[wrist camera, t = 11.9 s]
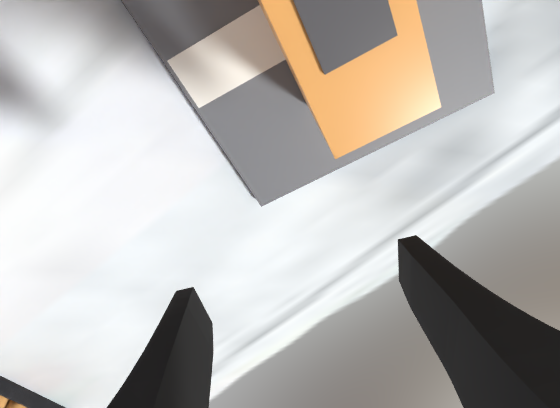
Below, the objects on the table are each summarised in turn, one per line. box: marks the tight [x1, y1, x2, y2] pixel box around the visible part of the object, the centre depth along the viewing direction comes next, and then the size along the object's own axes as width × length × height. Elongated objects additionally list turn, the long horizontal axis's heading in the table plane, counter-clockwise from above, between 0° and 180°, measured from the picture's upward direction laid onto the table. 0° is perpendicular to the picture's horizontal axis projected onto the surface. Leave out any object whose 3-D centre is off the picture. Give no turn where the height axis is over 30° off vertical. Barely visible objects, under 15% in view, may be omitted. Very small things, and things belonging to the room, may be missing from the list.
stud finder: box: [258, 0, 441, 159], centre depth 13 cm, size 4×8×6 cm, turn 27°
